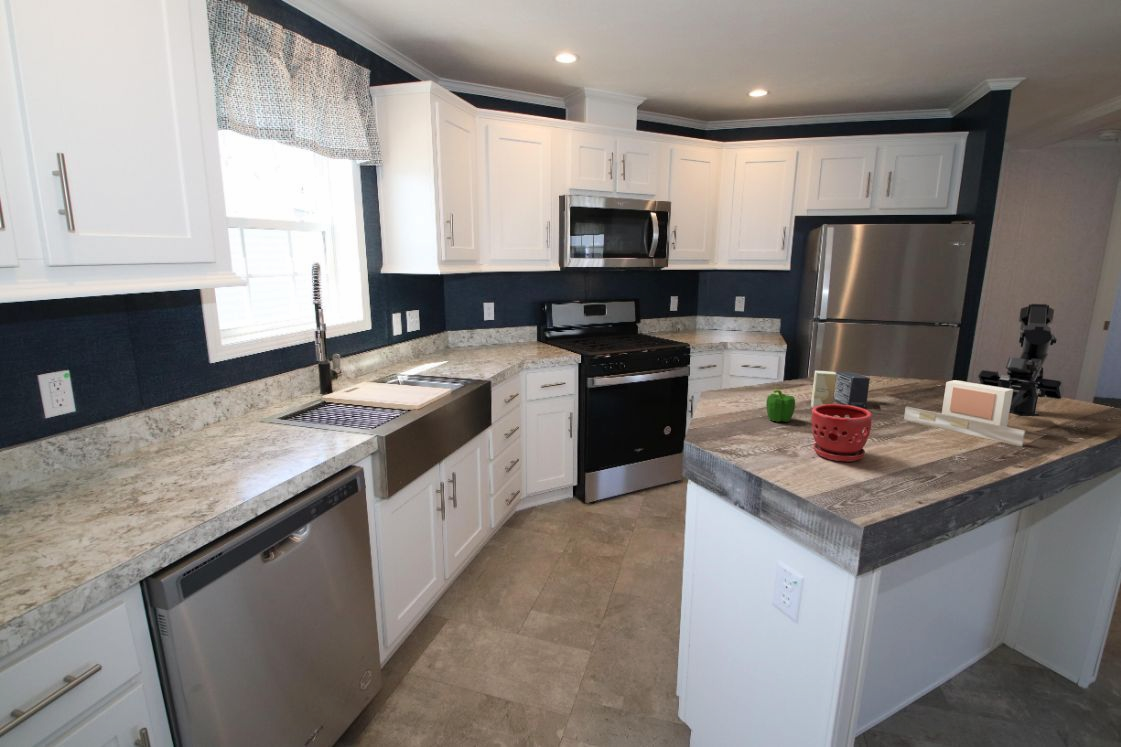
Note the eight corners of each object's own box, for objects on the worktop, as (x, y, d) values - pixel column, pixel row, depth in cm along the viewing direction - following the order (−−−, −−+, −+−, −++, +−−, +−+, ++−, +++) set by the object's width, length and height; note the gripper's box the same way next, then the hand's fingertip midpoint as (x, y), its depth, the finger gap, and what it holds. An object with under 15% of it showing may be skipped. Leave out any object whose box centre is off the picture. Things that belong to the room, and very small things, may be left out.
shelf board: (932, 415, 167) (934, 398, 166) (1046, 439, 144) (1049, 420, 143) (903, 424, 158) (905, 407, 157) (1020, 452, 135) (1023, 431, 134)
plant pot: (815, 443, 142) (819, 400, 139) (871, 454, 134) (876, 408, 131) (801, 457, 132) (805, 411, 130) (860, 469, 124) (866, 420, 121)
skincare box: (812, 408, 176) (815, 372, 174) (810, 405, 180) (813, 370, 178) (833, 409, 175) (837, 373, 172) (831, 406, 179) (834, 371, 176)
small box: (867, 408, 177) (871, 377, 175) (848, 408, 177) (851, 377, 175) (851, 400, 187) (854, 371, 185) (832, 400, 187) (835, 371, 185)
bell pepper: (788, 417, 167) (791, 386, 165) (797, 424, 159) (800, 392, 157) (761, 416, 168) (763, 385, 166) (768, 424, 160) (771, 391, 158)
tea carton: (952, 417, 159) (958, 379, 157) (1009, 430, 147) (1017, 388, 145) (936, 423, 154) (942, 383, 152) (993, 435, 142) (1001, 392, 140)
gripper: (985, 343, 159) (963, 383, 156) (1068, 351, 143) (1045, 396, 140) (992, 366, 165) (971, 405, 161) (1072, 376, 149) (1051, 420, 146)
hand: (1007, 406), depth 152 cm, fingers closed
